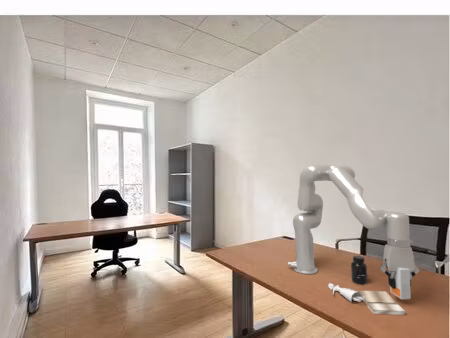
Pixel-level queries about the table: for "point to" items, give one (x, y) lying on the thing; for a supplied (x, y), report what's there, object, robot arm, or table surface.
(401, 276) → the skincare box
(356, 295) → the woman figurine
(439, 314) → the table surface
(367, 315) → the table surface
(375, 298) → the beige flat panel
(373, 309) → the laid board
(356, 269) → the supplement bottle
